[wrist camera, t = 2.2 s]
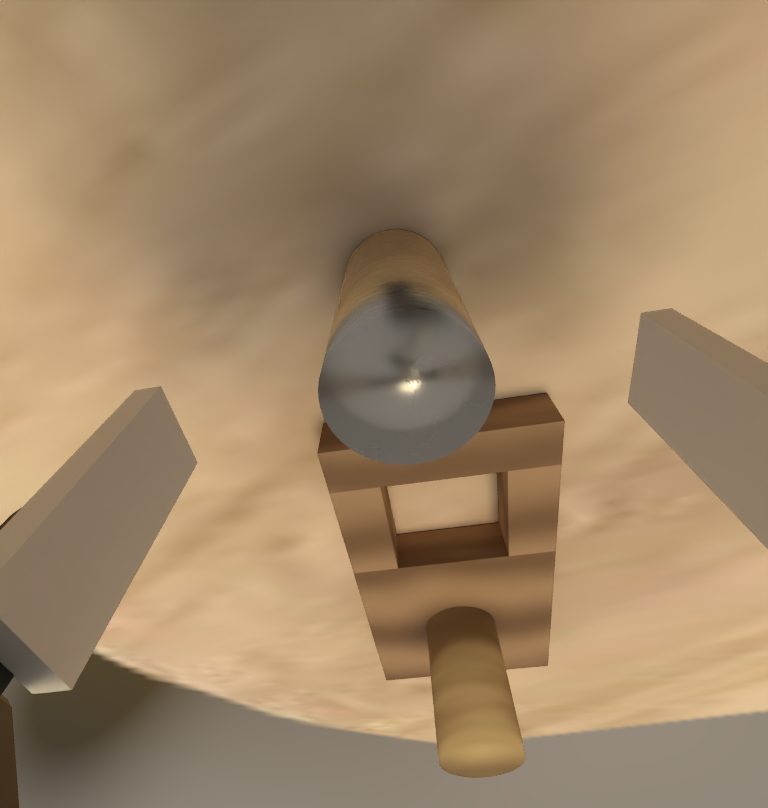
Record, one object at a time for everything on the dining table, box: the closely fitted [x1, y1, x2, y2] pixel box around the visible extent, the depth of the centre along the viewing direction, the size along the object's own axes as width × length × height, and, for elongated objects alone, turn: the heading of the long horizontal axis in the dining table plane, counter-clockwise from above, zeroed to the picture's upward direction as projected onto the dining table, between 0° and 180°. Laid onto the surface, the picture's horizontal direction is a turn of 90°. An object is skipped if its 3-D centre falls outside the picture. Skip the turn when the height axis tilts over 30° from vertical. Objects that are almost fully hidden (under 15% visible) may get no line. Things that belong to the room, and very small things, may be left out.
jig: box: [317, 393, 565, 778], centre depth 25 cm, size 22×12×10 cm, turn 9°
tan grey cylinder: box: [318, 229, 495, 465], centre depth 16 cm, size 5×5×10 cm
